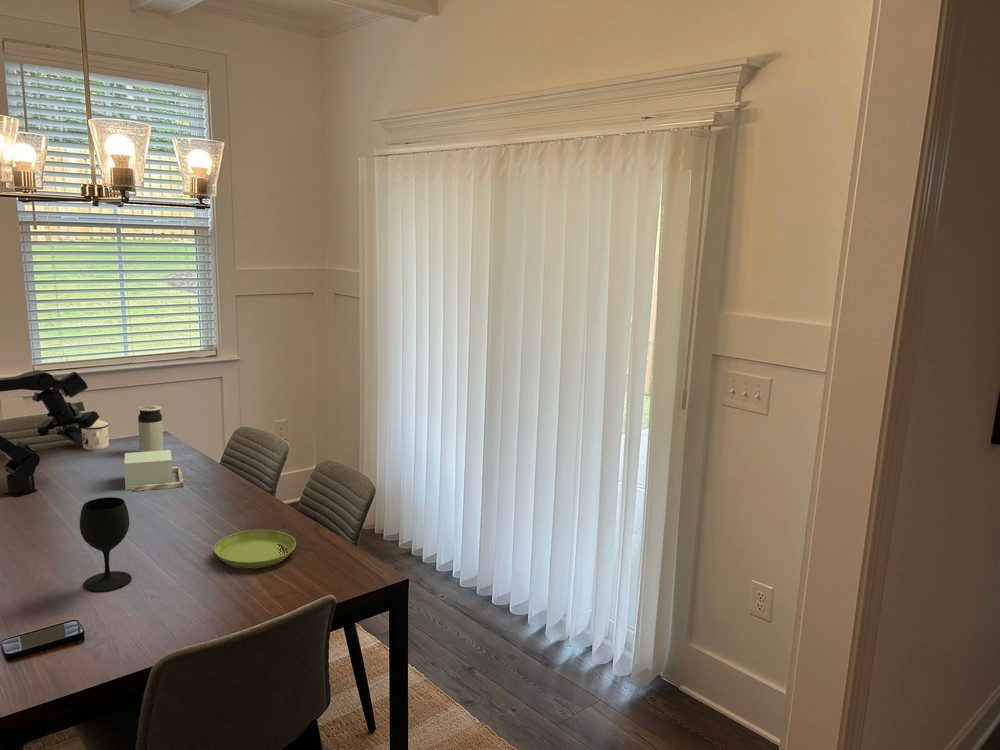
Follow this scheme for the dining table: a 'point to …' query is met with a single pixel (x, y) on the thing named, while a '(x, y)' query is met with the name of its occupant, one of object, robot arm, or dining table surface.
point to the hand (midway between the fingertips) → (81, 444)
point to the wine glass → (105, 538)
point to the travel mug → (150, 429)
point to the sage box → (148, 468)
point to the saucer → (254, 548)
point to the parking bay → (164, 485)
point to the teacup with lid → (96, 436)
